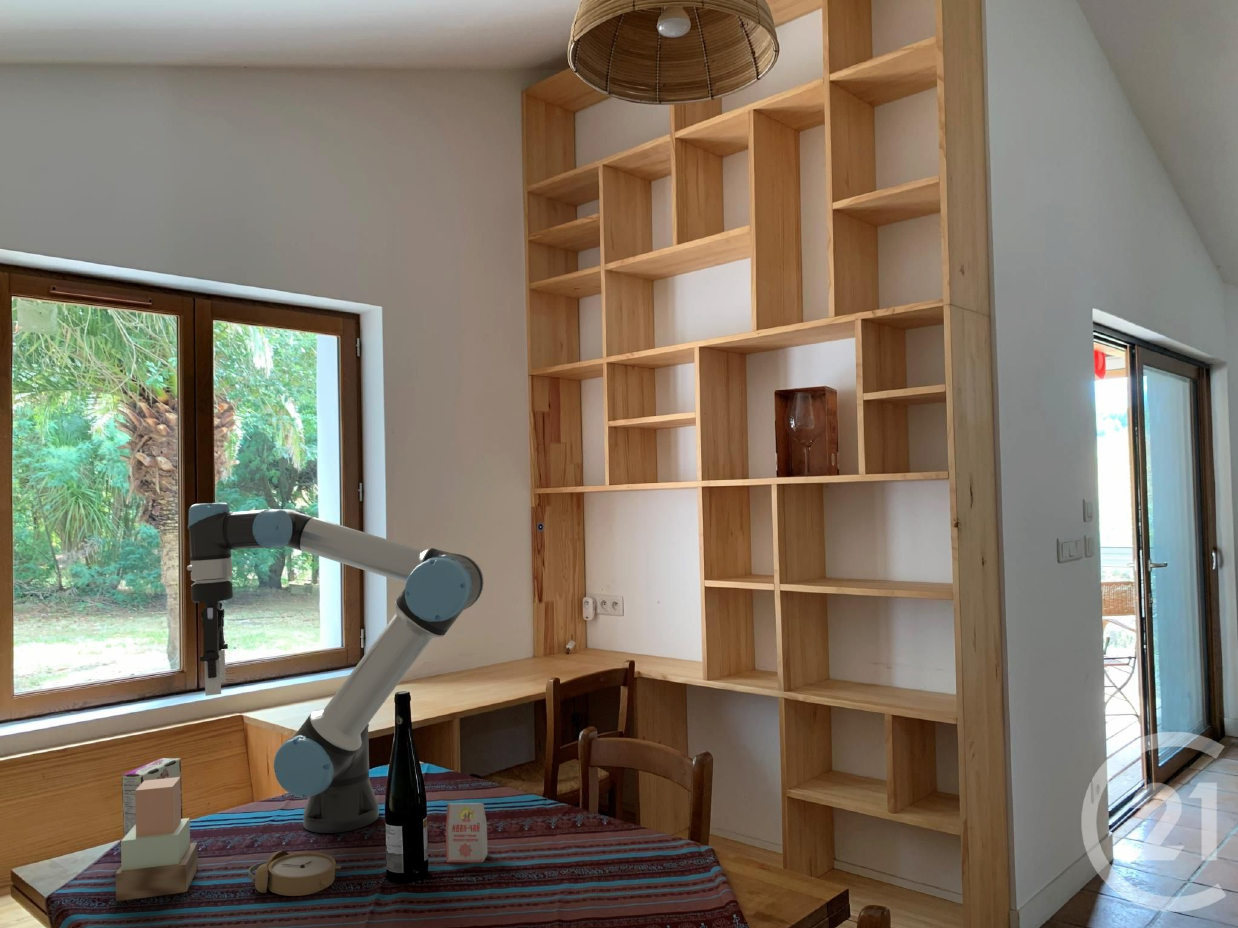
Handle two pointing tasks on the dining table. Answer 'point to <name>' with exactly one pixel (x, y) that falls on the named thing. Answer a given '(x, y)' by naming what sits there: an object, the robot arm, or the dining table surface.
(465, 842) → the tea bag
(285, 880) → the alarm clock
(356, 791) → the robot arm
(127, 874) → the tower lower
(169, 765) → the candy bar box
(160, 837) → the tower upper
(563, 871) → the dining table surface
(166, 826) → the block
